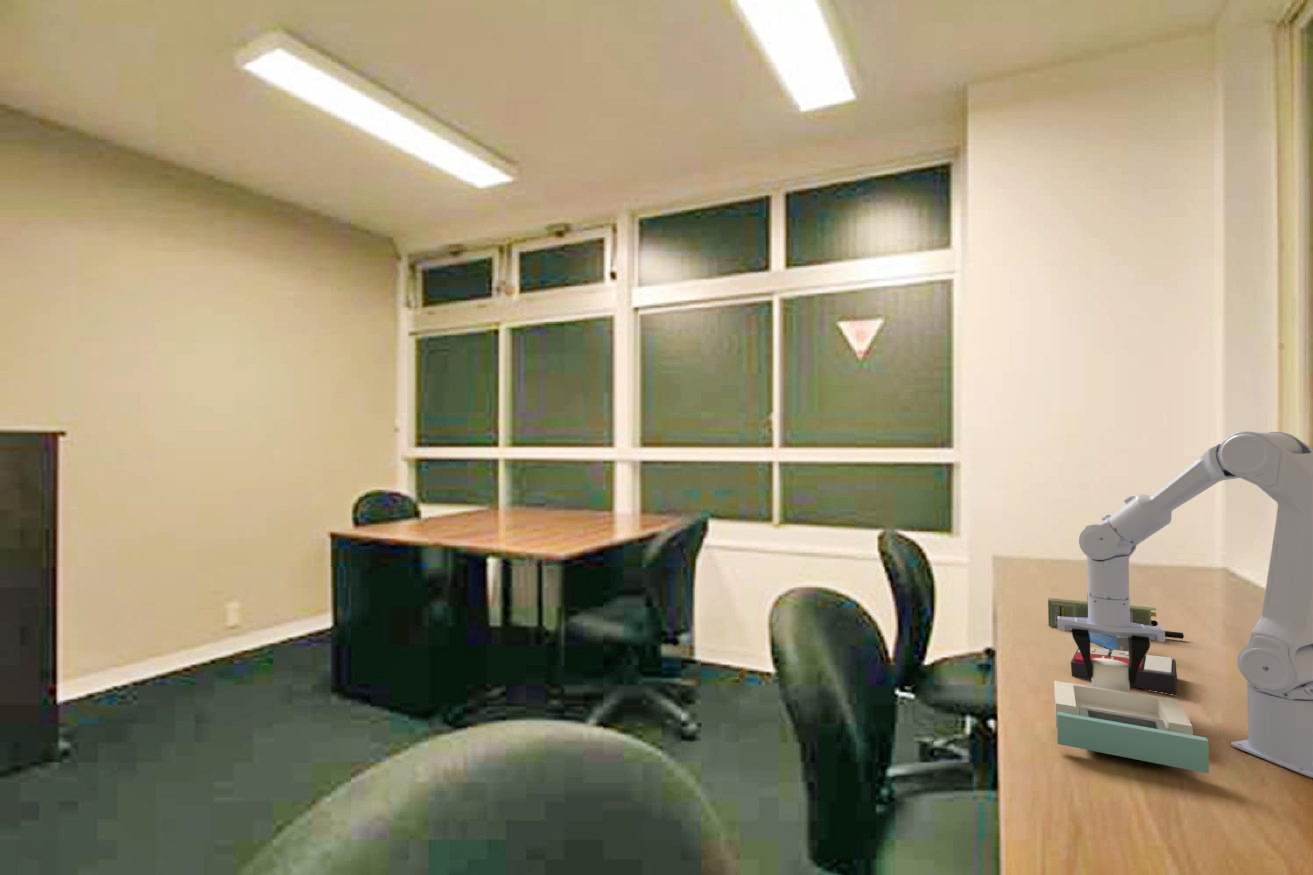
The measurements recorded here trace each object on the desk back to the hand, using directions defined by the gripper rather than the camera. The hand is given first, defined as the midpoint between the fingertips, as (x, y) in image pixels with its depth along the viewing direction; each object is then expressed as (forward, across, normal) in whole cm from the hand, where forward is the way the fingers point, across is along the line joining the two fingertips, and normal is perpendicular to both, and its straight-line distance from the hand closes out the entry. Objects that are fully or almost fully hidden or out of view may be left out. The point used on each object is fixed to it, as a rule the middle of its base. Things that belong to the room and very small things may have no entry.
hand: (1110, 678), depth 106 cm
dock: (+4, 0, +12) cm, 13 cm away
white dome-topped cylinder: (+2, 0, 0) cm, 2 cm away
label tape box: (+4, -3, -35) cm, 35 cm away
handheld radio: (+4, -4, -48) cm, 48 cm away
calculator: (+4, -3, -14) cm, 15 cm away
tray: (+2, 0, +21) cm, 21 cm away
